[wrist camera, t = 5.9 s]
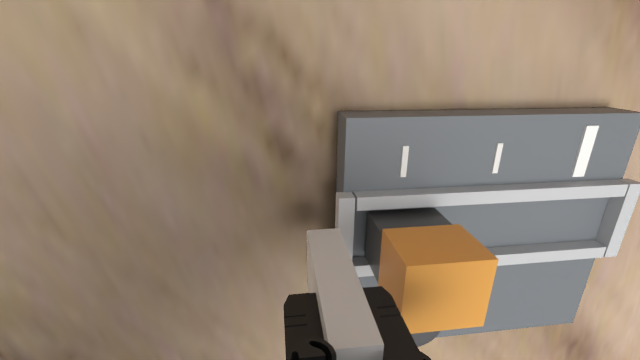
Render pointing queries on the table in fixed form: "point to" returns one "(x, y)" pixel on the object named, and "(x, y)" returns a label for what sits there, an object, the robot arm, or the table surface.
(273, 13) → the table surface
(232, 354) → the table surface
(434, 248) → the fader tab
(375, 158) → the console
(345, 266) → the robot arm
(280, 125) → the table surface
